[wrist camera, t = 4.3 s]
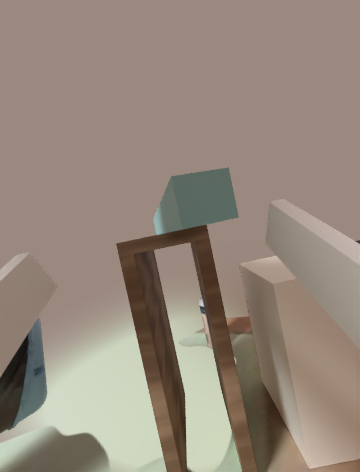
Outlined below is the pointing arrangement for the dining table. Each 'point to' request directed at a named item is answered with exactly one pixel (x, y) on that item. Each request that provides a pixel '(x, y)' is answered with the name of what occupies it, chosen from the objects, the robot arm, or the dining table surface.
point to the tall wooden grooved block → (162, 345)
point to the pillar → (304, 363)
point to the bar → (196, 201)
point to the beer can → (205, 323)
